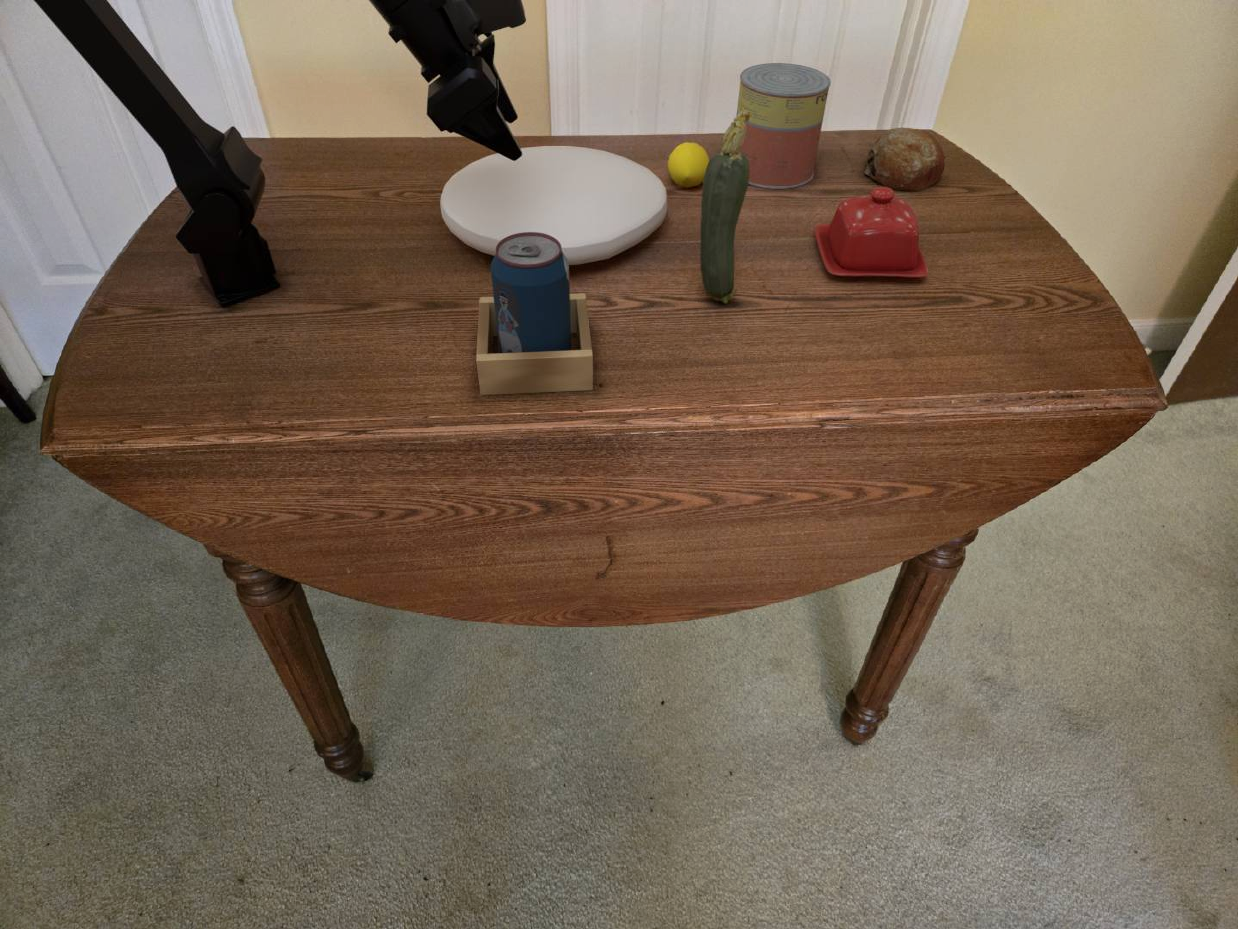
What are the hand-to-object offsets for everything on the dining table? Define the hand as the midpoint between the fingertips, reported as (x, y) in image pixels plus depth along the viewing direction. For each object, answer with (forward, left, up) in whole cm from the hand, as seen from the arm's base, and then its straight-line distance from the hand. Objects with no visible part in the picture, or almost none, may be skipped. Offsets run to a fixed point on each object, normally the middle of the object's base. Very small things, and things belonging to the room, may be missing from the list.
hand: (516, 138), depth 81 cm
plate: (+9, +6, -15) cm, 19 cm away
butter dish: (+32, -23, -15) cm, 42 cm away
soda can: (-9, -14, -15) cm, 23 cm away
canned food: (+41, 0, -15) cm, 44 cm away
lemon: (+29, +4, -15) cm, 33 cm away
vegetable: (+12, -18, -15) cm, 26 cm away
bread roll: (+54, -12, -15) cm, 57 cm away
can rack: (-9, -14, -15) cm, 22 cm away
